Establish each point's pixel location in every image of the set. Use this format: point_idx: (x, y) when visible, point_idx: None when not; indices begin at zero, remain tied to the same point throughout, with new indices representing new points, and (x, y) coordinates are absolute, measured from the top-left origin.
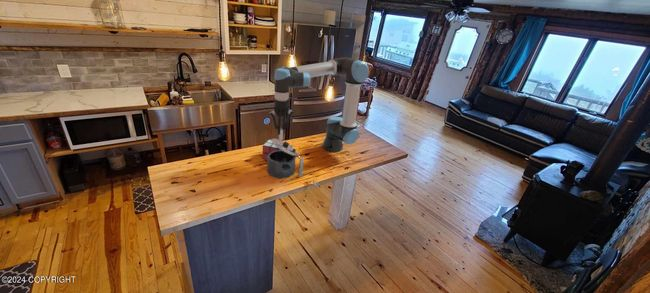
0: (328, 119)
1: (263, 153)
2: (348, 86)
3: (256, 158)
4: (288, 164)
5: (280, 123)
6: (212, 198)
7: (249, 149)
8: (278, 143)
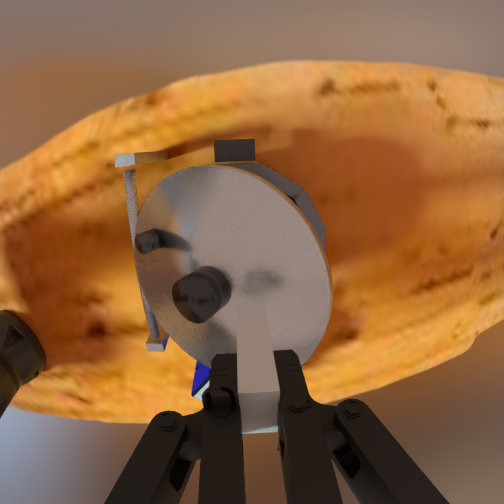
0: None
1: None
2: None
3: None
4: (216, 164)
5: (296, 482)
6: (486, 134)
7: None
8: (272, 298)
